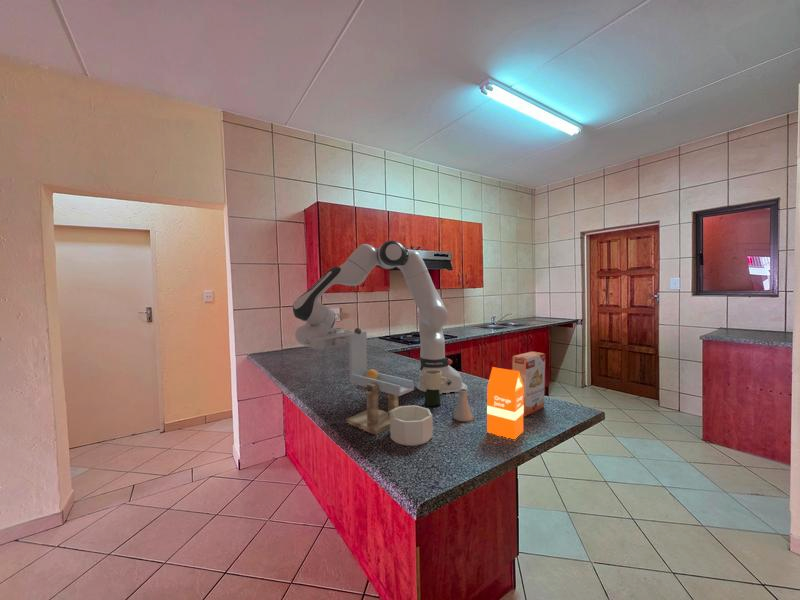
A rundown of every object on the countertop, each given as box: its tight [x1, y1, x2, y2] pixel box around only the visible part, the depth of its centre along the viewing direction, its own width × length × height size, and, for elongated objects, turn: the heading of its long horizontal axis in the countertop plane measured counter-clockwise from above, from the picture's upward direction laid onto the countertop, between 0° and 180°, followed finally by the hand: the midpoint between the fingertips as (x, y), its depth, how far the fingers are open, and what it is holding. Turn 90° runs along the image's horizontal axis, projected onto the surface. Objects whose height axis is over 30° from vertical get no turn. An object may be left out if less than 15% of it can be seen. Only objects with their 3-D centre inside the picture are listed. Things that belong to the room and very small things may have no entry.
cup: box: [389, 404, 434, 447], centre depth 97 cm, size 13×13×7 cm
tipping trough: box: [348, 327, 415, 397], centre depth 105 cm, size 23×7×21 cm, turn 50°
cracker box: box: [511, 351, 546, 417], centre depth 116 cm, size 14×6×21 cm, turn 129°
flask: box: [452, 388, 475, 422], centre depth 110 cm, size 7×7×10 cm
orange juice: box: [486, 366, 524, 440], centre depth 99 cm, size 8×9×20 cm
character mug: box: [418, 369, 446, 407], centre depth 123 cm, size 11×7×13 cm, turn 70°
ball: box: [366, 368, 379, 380], centre depth 107 cm, size 4×4×4 cm
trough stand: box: [345, 383, 399, 436], centre depth 107 cm, size 14×14×15 cm
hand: (348, 341), depth 115 cm, fingers closed
